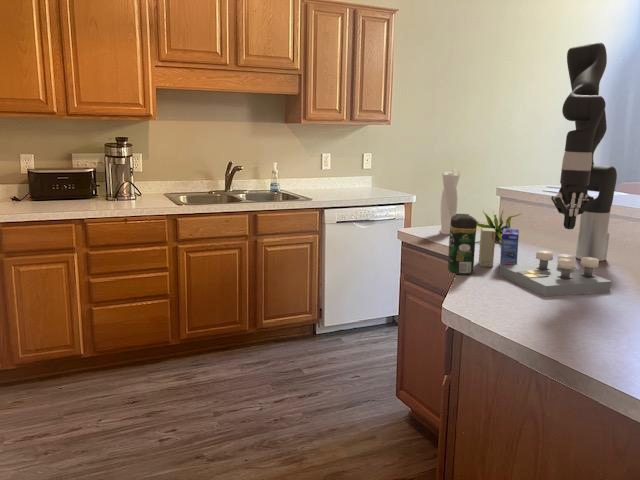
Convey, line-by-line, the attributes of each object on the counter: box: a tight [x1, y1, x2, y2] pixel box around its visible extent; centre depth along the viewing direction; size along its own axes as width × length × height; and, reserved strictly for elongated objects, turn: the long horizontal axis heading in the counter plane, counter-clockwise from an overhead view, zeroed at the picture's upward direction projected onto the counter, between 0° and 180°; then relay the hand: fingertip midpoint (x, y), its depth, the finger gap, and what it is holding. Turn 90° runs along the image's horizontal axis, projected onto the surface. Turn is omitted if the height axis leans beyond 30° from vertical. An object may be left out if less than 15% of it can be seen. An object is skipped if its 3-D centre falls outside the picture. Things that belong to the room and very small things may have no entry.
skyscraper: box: [439, 168, 461, 236], centre depth 237 cm, size 8×8×28 cm
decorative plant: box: [476, 207, 522, 242], centre depth 220 cm, size 18×30×15 cm, turn 141°
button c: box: [535, 250, 554, 269], centre depth 172 cm, size 5×5×5 cm
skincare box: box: [478, 227, 496, 268], centre depth 187 cm, size 6×4×12 cm
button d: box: [557, 258, 577, 278], centre depth 163 cm, size 5×5×5 cm
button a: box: [556, 253, 576, 263], centre depth 174 cm, size 5×5×5 cm
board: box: [499, 262, 612, 297], centre depth 168 cm, size 22×22×3 cm
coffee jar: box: [447, 213, 478, 276], centre depth 177 cm, size 10×8×19 cm
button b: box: [579, 257, 600, 276], centre depth 165 cm, size 5×5×5 cm
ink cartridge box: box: [499, 223, 520, 270], centre depth 185 cm, size 10×6×14 cm, turn 161°
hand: (568, 228), depth 160 cm, fingers closed
